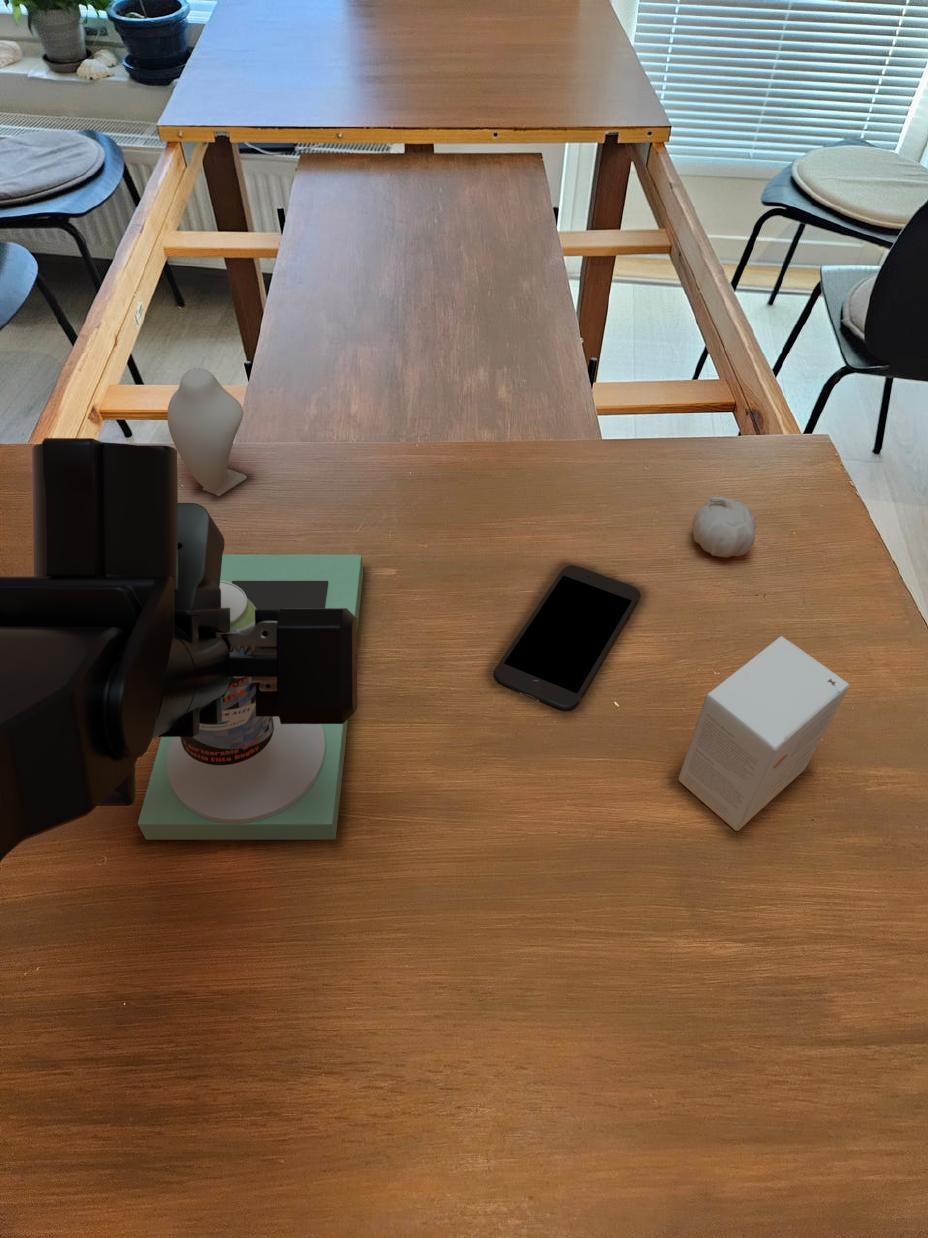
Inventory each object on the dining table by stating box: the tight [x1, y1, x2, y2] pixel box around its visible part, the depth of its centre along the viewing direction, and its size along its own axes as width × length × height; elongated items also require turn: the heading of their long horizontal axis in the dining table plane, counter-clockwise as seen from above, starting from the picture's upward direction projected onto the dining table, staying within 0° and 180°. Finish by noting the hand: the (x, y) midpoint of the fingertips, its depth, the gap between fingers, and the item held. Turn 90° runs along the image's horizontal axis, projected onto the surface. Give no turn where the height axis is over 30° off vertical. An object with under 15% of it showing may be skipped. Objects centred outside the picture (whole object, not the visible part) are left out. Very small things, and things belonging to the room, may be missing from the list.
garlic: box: [691, 495, 757, 558], centre depth 79 cm, size 6×5×5 cm
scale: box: [137, 553, 364, 841], centre depth 69 cm, size 26×13×3 cm, turn 0°
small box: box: [678, 635, 851, 832], centre depth 61 cm, size 8×6×10 cm
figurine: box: [166, 367, 248, 497], centre depth 82 cm, size 8×5×12 cm
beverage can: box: [180, 581, 274, 765], centre depth 56 cm, size 6×7×12 cm
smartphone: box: [492, 564, 642, 712], centre depth 74 cm, size 7×15×1 cm, turn 151°
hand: (223, 653), depth 57 cm, fingers closed on beverage can, 6 cm apart
